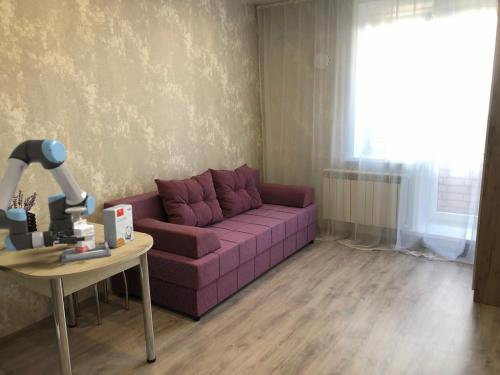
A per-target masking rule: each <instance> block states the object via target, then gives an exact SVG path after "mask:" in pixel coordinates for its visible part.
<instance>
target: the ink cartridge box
mask: <svg viewBox="0 0 500 375" xmlns="http://www.w3.org/2000/svg"><path fill="white" fill-rule="evenodd" d="M80 222H81V223H82V224H79V223H80ZM87 223H88V221H87V218H85V219H82V220H80V221H77V222H74V236H73V237H77V236H83V235H91V234H92V240H91V241H83V242H78V244H75V251H76V252H81V253H83V252H86V251H89V250H91V249H94V248H95V245H96V237H95V225H93V224H87ZM78 224H79V225H78Z"/></svg>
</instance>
